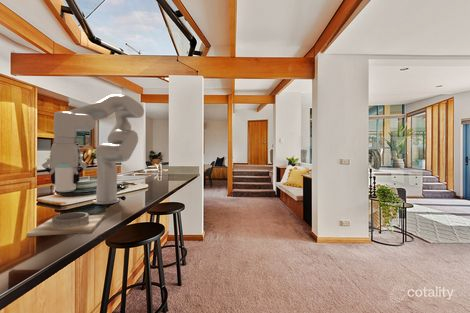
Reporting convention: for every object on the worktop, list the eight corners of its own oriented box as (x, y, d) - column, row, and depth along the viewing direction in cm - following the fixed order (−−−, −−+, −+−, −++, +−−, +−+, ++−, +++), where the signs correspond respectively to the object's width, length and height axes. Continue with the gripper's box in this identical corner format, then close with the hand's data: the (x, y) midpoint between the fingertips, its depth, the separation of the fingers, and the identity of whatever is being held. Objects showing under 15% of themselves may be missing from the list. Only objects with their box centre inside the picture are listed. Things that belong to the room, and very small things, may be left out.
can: (67, 192, 91) (67, 163, 91) (50, 192, 91) (50, 163, 91) (79, 189, 98) (79, 162, 98) (64, 188, 98) (64, 161, 98)
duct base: (53, 219, 88) (53, 210, 88) (104, 217, 94) (104, 209, 93) (26, 236, 71) (26, 225, 71) (91, 232, 76) (91, 222, 76)
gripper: (91, 142, 100) (91, 181, 101) (45, 140, 95) (45, 182, 96) (86, 142, 93) (86, 184, 94) (35, 140, 88) (35, 185, 88)
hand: (65, 182), depth 95 cm, fingers closed on can, 7 cm apart
